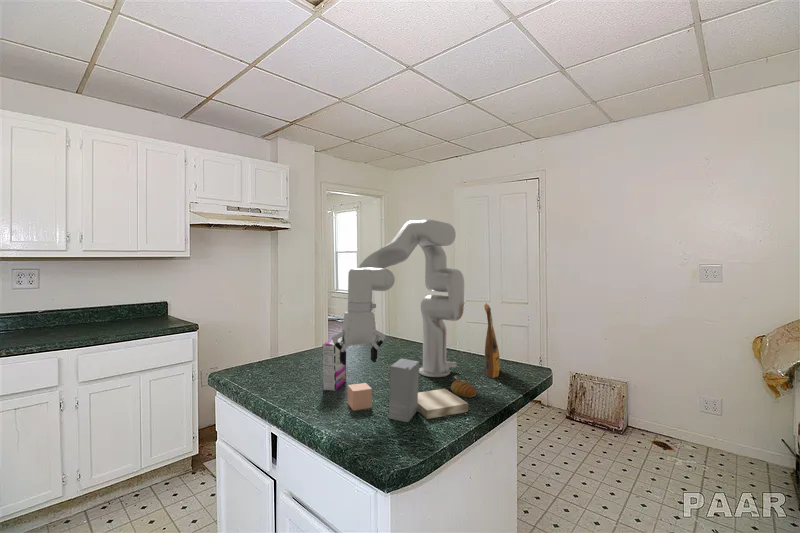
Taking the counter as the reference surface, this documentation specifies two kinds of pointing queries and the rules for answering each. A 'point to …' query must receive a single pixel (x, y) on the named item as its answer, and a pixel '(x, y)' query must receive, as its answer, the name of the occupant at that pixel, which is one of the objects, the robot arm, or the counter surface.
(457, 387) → the pastry
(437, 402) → the birch board
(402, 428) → the counter surface
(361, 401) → the terracotta cube
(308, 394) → the counter surface
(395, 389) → the skincare box
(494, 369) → the pancake mix bag
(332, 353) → the candy bar box
